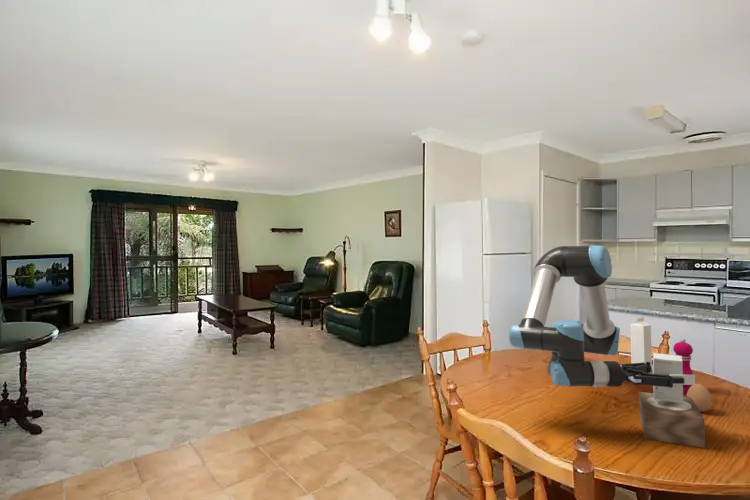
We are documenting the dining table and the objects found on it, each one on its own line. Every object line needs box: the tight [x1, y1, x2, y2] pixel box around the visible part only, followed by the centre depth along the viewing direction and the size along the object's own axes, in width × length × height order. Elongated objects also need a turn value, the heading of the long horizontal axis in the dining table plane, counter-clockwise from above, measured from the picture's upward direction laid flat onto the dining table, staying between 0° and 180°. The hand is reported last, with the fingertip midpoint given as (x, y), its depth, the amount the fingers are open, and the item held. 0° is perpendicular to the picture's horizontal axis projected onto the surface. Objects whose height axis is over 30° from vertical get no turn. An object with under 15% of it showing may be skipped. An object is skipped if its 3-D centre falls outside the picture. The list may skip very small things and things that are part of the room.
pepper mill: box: [672, 337, 697, 395], centre depth 161 cm, size 7×7×20 cm
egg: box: [686, 383, 713, 413], centre depth 142 cm, size 7×7×9 cm
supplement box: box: [652, 352, 684, 404], centre depth 128 cm, size 7×7×13 cm
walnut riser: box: [638, 391, 706, 449], centre depth 128 cm, size 14×18×8 cm
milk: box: [629, 316, 653, 366], centre depth 194 cm, size 6×6×22 cm
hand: (683, 374), depth 128 cm, fingers closed on supplement box, 9 cm apart
